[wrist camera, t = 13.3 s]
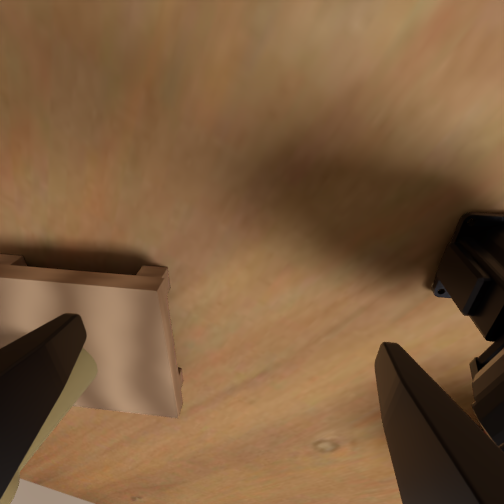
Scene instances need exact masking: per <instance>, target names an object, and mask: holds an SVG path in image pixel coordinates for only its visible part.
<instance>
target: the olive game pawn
mask: <svg viewBox="0 0 504 504" xmlns="http://www.w3.org/2000/svg"><path fill="white" fill-rule="evenodd" d="M97 372H98V370H97V364H96V362H95V361H94V359H93V357H92V356H91V355H90V354H89V353H88V352H87V351H86V350H85V349H84V348H82V350H81V352H80V355H79V357H78V359H77V361H76V364H75V366H74V368H73V370H72V373H71V375H70V377H69V379H68V381H67V383H66V385H65V387H64V389H63V391H62V393H61V395H60V396H59V398H58V400H57V402H56V403H55V405H54V407H53V409H52V410H51V412H50V414H49V416H48V417H47V419H46V421H45V423H44V424H43V426H42V428H41V430H40V431H39V433H38V435H37V437H36V438H35V440H34V442H33V444H32V445H31V447H30V449H29V451H28V452H27V454H26V456H25V457H24V459H23V461H22V463H21V464H20V466H19V468H18V470H17V471H16V473H15V475H14V477H13V478H12V480H11V482H10V484H9V485H8V487H7V489H6V491H5V492H4V494H3V496H2V498H1V499H0V504H10V503H11V502H12V500H13V498H14V496H15V493H16V491H17V488H18V486H19V478H20V471H21V470H22V468H23V467H24V466H25V465H26V463H27V462H28V461H29V460H30V458H31V457H32V456H33V455H34V453H35V452H36V451H37V450H38V448H39V447H40V446H41V445H42V443H43V442H44V441H45V440H46V438H47V437H48V436H49V435H50V433H51V432H52V431H53V430H54V428H55V427H56V426H57V425H58V423H59V422H60V421H61V420H62V418H63V417H64V416H65V415H66V413H67V412H68V411H69V410H70V408H71V407H72V406H73V405H74V403H75V402H76V401H77V400H78V399H79V397H80V396H81V395H82V394H83V392H84V391H85V390H86V389H87V387H88V386H89V385H90V384H91V382H92V381H93V380H94V379H95V377H96V375H97Z"/></svg>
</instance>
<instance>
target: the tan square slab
mask: <svg viewBox="0 0 504 504" xmlns="http://www.w3.org/2000/svg"><path fill="white" fill-rule="evenodd" d="M169 290H170V281H169V274H168V267H156V266H142V267H141V269H140V270H139V271H138V273H137V274H136V276H135V275H123V274H111V273H99V272H87V271H75V270H63V269H51V268H39V267H27V265H26V263H25V260H24V258H23V256H19V255H7V254H0V348H2V347H4V346H6V345H8V344H9V343H11V342H13V341H15V340H17V339H19V338H20V337H22V336H24V335H26V334H28V333H29V332H31V331H33V330H35V329H37V328H38V327H40V326H42V325H44V324H46V323H47V322H49V321H51V320H53V319H55V318H56V317H58V316H60V315H62V314H64V313H75V314H79V315H80V316H81V318H82V321H83V324H84V326H85V329H86V332H87V338H86V341H85V344H84V346H83V348H84V349H85V350H86V351H87V352H88V353H89V354H90V355H91V356H92V357H93V359H94V361H95V362H96V364H97V370H98V372H97V375H96V377H95V379H94V380H93V381H92V382H91V384H90V385H89V386H88V387H87V389H86V390H85V391H84V392H83V394H82V395H81V396H80V397H79V399H78V400H77V401H76V402H75V403H74V405H73V406H76V407H85V408H93V409H102V410H111V411H119V412H128V413H137V414H145V415H154V416H162V417H171V418H179V415H180V412H181V408H182V405H183V400H182V393H181V387H182V384H183V375H182V369H181V368H178V366H177V359H176V352H175V346H174V339H173V332H172V325H171V319H170V312H169V305H168V298H167V293H168V291H169Z"/></svg>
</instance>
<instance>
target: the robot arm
mask: <svg viewBox="0 0 504 504" xmlns="http://www.w3.org/2000/svg"><path fill="white" fill-rule="evenodd" d="M470 219H473V220H472V221H471V222H470V223H467V222H468V220H470ZM436 276H437V277H436V279H435V282H434V284H433V287H432V291H433V293H434V295H435V296H437V297H444V298H452V299H453V301H454V302H455V304H456V305H457V307H458V308H459V310H460V311H461V313H462V314H463V315H464V316H469V317H470V318H471V319H472V321H473V322H474V324H475V325H476V327H477V328H478V329H479V331H480V332H481V334H482V335H483V337H484V338H485V339H486V340H487V341H492V342H494V343H493V344H492V345H491V346H490V347H489V348H488V349H487V350H486V351H485V352H484V353H483V354H482V355H481V356H479V357H476V358H474V359H473V360H472V361H471V362H470V369H471V374H472V379H473V382H472V388H473V394H474V399H475V402H473V403H472V409H473V411H474V413H475V415H476V417H477V419H478V421H479V423H480V425H481V426H482V428H483V429H484V431H485V432H486V434H487V435H486V434H485V433H484V431H483V430H482V429H481V428H480V427H479V426H478V425H477V424H476V423H475V422H474V421H473V420H472V419H471V418H470V417H469V416H468V415H467V414H466V413H465V412H464V411H463V410H462V409H461V408H460V407H459V406H458V405H457V404H456V403H455V402H454V401H453V400H452V399H451V398H450V397H449V395H448V394H447V393H446V392H445V391H444V390H443V389H442V388H441V387H440V386H439V385H438V384H437V383H436V382H435V381H434V380H433V379H432V378H431V377H430V376H429V375H428V374H427V373H426V372H425V371H424V370H423V369H422V368H421V367H420V366H419V365H418V364H417V363H416V362H415V361H414V359H413V358H412V357H411V356H410V355H409V354H408V353H407V352H406V351H405V350H404V349H403V348H402V347H401V346H400V345H399V344H397V343H391V342H383V343H382V344H381V345H380V348H379V351H378V354H377V357H376V360H375V374H376V382H377V389H378V396H379V403H380V411H381V417H382V423H383V427H384V432H385V436H386V440H387V444H388V448H389V452H390V456H391V460H392V463H393V467H394V471H395V475H396V479H397V483H398V487H399V491H400V495H401V499H402V503H403V504H504V214H493V213H478V212H468V213H466V214H464V215H463V216H462V217H461V219H460V221H459V223H458V226H457V228H456V231H455V233H454V236H453V238H452V240H451V242H450V243H449V244H448V245H447V248H446V250H445V253H444V255H443V258H442V260H441V263H440V265H439V268H438V270H437V272H436ZM440 289H442V290H441V291H438V290H440ZM86 338H87V332H86V329H85V326H84V324H83V321H82V318H81V316H80V315H79V314H75V313H64V314H62V315H60V316H58V317H56V318H55V319H53V320H51V321H49V322H47V323H46V324H44V325H42V326H40V327H38V328H37V329H35V330H33V331H31V332H29V333H28V334H26V335H24V336H22V337H20V338H19V339H17V340H15V341H13V342H11V343H9V344H8V345H6V346H4V347H2V348H0V499H1V498H2V496H3V494H4V492H5V491H6V489H7V487H8V485H9V484H10V482H11V480H12V478H13V477H14V475H15V473H16V471H17V470H18V468H19V466H20V464H21V463H22V461H23V459H24V457H25V456H26V454H27V452H28V451H29V449H30V447H31V445H32V444H33V442H34V440H35V438H36V437H37V435H38V433H39V431H40V430H41V428H42V426H43V424H44V423H45V421H46V419H47V417H48V416H49V414H50V412H51V410H52V409H53V407H54V405H55V403H56V402H57V400H58V398H59V396H60V395H61V393H62V391H63V389H64V387H65V385H66V383H67V381H68V379H69V377H70V375H71V373H72V370H73V368H74V366H75V364H76V361H77V359H78V357H79V355H80V352H81V350H82V348H83V346H84V344H85V341H86Z"/></svg>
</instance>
